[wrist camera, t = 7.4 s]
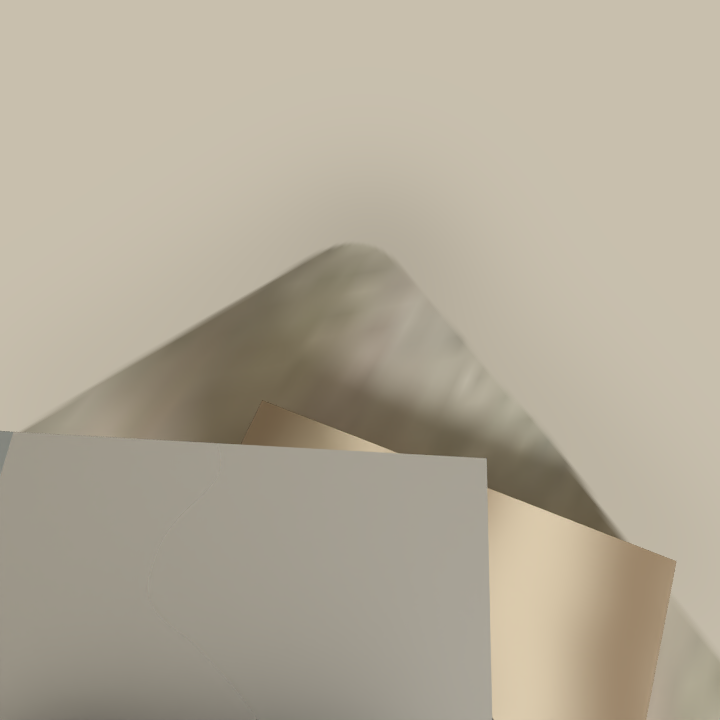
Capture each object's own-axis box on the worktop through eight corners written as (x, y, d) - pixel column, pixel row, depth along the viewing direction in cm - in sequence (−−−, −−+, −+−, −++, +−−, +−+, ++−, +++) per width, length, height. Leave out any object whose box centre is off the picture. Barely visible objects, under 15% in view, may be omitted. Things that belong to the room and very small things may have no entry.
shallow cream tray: (636, 569, 22) (676, 561, 19) (526, 1081, 17) (558, 1172, 14) (274, 426, 24) (262, 400, 21) (76, 840, 19) (27, 876, 16)
